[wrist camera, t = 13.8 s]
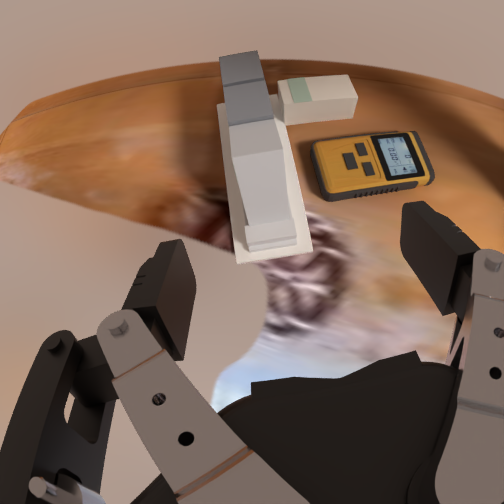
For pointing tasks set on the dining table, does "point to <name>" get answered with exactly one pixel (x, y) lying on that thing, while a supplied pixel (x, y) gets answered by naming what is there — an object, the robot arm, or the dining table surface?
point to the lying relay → (316, 99)
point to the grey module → (260, 171)
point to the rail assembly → (229, 114)
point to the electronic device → (370, 164)
